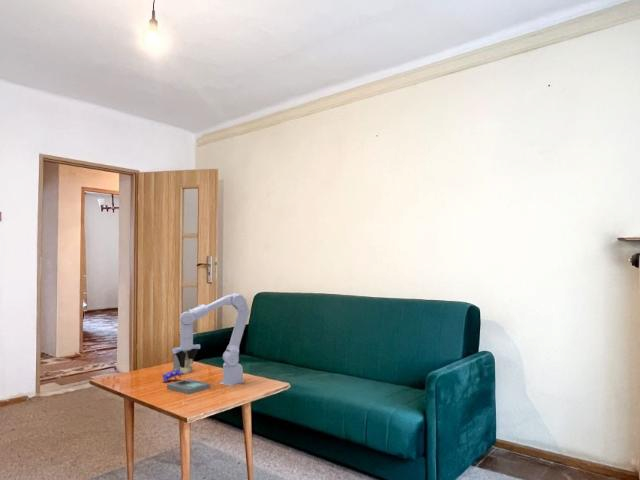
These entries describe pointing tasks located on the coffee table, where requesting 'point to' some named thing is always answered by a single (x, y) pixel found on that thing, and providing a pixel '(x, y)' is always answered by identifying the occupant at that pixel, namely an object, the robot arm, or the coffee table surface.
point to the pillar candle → (176, 361)
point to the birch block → (187, 366)
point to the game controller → (171, 374)
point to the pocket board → (188, 386)
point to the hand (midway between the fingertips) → (186, 366)
